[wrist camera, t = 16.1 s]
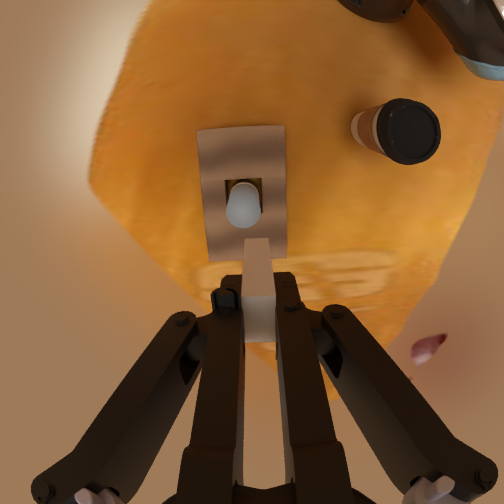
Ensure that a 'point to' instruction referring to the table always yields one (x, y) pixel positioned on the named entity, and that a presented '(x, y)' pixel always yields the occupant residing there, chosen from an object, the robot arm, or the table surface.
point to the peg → (243, 204)
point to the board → (241, 167)
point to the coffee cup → (399, 130)
